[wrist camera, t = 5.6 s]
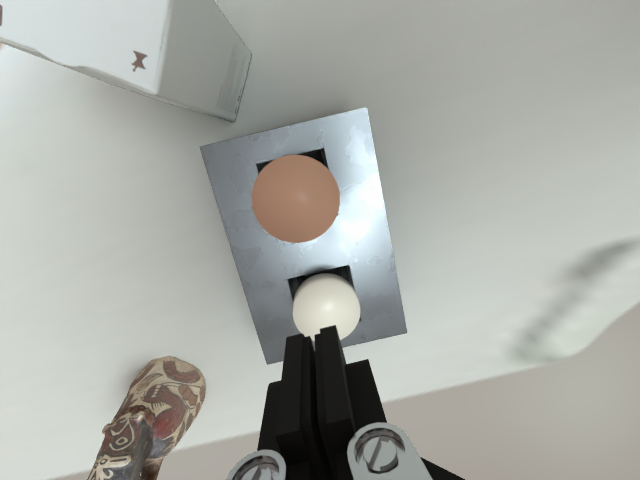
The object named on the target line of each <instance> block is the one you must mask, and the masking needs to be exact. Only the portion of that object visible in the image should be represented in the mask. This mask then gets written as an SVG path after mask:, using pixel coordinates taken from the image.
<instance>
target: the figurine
mask: <svg viewBox="0 0 640 480" xmlns="http://www.w3.org/2000/svg"><path fill="white" fill-rule="evenodd" d="M204 398H205V380H204V377H203V375H202V373H201V372H200V371H199V369H197V368H195V367H193V366H192V365H190V364H189V363H186V362H184V361H180V360H178V359H176V358H174V357H171V356H167V357H164V358H160V359H155V360H152V361H151V362H150V363H149V364H148V366H147V367H145V368H144V370H143V371H142V373H140V375H139V376H138V377H137V378H136V379H135V380H134V382H133V383H132V384H131V386H130V389H129V392H128V394H127V396H126V398H125V400H124V402H123V404H122V405H121V407H120V409H119V411H118V412H117V414H116V415H115V417H114V419H113V421H112V423H111V424H107V425H106V426H105V427H104V428H103V430H102V433H104V434H105V438H104V440H103V443H102V446H101V448H100V450H99V452H98V455H97V458H96V461H95V464H94V466H93V468H92V471H91V473H90V475H89V477H88V479H87V480H156V479H157V476H158V472H159V469H160V466H161V463H162V460H163V458H164V457H165V456H166V455H167V454H168V453H169V452H170V451H171V450H172V449H173V448H174V447H175V446H176V445H177V443H178V442H179V441H180V439H181V438H182V437H183V435H184V434H185V433H186V431H187V430H188V428H189V427H190V425H191V424H192V422H193V421H194V419H195V418H196V416H197V414H198V413H199V411H200V408H201V406H202V404H203V401H204ZM140 473H141V476H140Z"/></svg>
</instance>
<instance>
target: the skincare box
mask: <svg viewBox="0 0 640 480" xmlns="http://www.w3.org/2000/svg"><path fill="white" fill-rule="evenodd" d="M0 42H1V43H3V44H6V45H9V46H11V47H14V48H17V49H19V50H22V51H25V52H27V53H30V54H33V55H35V56H38V57H41V58H43V59H46V60H49V61H51V62H54V63H57V64H59V65H62V66H65V67H67V68H70V69H73V70H75V71H78V72H81V73H83V74H86V75H89V76H91V77H94V78H96V79H99V80H102V81H105V82H107V83H110V84H113V85H116V86H118V87H121V88H124V89H127V90H130V91H133V92H136V93H139V94H142V95H145V96H148V97H151V98H154V99H157V100H160V101H163V102H166V103H169V104H173V105H176V106H180V107H184V108H187V109H191V110H195V111H198V112H202V113H206V114H209V115H213V116H216V117H219V118H222V119H225V120H228V121H231V122H235V119H236V115H237V111H238V107H239V104H240V100H241V96H242V92H243V88H244V83H245V79H246V75H247V71H248V67H249V63H250V59H251V52H250V51H249V49H248V48H247V47H246V45H245V44H244V42H243V41H242V40H241V38H240V37H239V35H238V34H237V33H236V31H235V30H234V28H233V27H232V25H231V24H230V23H229V21H228V20H227V18H226V17H225V16H224V14H223V13H222V11H221V10H220V9H219V7H218V6H217V5H216V3H215V2H214V0H0Z"/></svg>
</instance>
